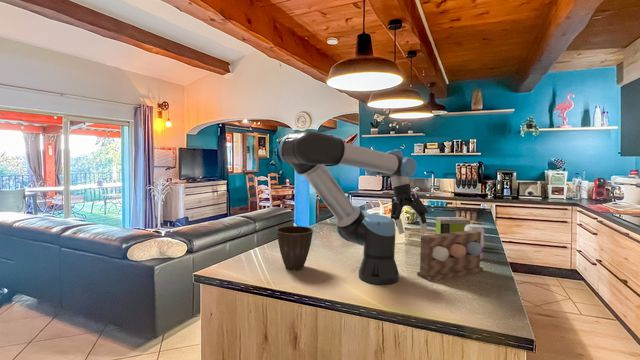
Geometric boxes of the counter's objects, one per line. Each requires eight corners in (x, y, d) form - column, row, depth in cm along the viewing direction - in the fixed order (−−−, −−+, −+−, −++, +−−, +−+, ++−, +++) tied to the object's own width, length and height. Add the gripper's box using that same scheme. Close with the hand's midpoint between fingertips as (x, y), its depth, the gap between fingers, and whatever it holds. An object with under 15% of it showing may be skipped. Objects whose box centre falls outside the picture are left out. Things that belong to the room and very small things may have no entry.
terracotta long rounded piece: (456, 259, 127) (456, 246, 127) (438, 253, 135) (438, 240, 135) (465, 257, 129) (466, 244, 129) (447, 251, 137) (448, 239, 137)
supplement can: (477, 255, 160) (478, 224, 159) (486, 260, 151) (487, 227, 150) (460, 255, 159) (461, 223, 158) (468, 260, 151) (469, 227, 150)
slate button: (472, 256, 131) (473, 243, 131) (454, 250, 139) (455, 238, 139) (481, 254, 133) (482, 242, 133) (463, 249, 141) (463, 237, 141)
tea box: (463, 243, 181) (464, 216, 180) (470, 248, 171) (471, 220, 170) (435, 242, 183) (435, 216, 182) (439, 247, 173) (440, 219, 172)
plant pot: (317, 263, 144) (317, 227, 143) (306, 275, 130) (306, 234, 129) (284, 260, 148) (284, 225, 147) (270, 271, 134) (270, 232, 133)
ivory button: (438, 262, 123) (438, 248, 123) (421, 255, 131) (421, 243, 131) (448, 260, 125) (448, 247, 125) (430, 254, 134) (431, 241, 133)
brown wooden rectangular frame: (430, 281, 124) (431, 239, 123) (417, 275, 130) (418, 235, 129) (482, 271, 136) (484, 232, 135) (468, 266, 142) (469, 229, 141)
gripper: (428, 177, 138) (441, 228, 136) (388, 188, 159) (399, 232, 157) (416, 180, 134) (429, 232, 132) (376, 191, 155) (387, 236, 153)
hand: (412, 232), depth 144 cm, fingers open, 13 cm apart
